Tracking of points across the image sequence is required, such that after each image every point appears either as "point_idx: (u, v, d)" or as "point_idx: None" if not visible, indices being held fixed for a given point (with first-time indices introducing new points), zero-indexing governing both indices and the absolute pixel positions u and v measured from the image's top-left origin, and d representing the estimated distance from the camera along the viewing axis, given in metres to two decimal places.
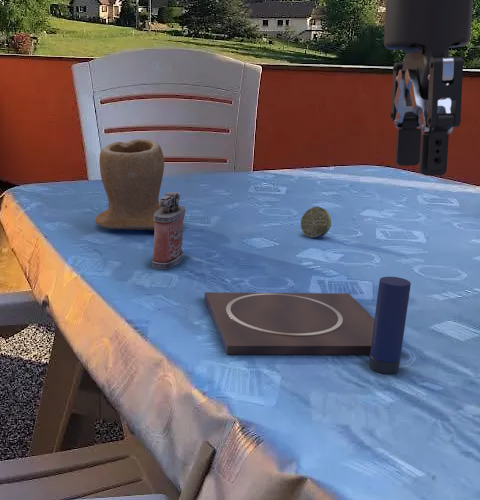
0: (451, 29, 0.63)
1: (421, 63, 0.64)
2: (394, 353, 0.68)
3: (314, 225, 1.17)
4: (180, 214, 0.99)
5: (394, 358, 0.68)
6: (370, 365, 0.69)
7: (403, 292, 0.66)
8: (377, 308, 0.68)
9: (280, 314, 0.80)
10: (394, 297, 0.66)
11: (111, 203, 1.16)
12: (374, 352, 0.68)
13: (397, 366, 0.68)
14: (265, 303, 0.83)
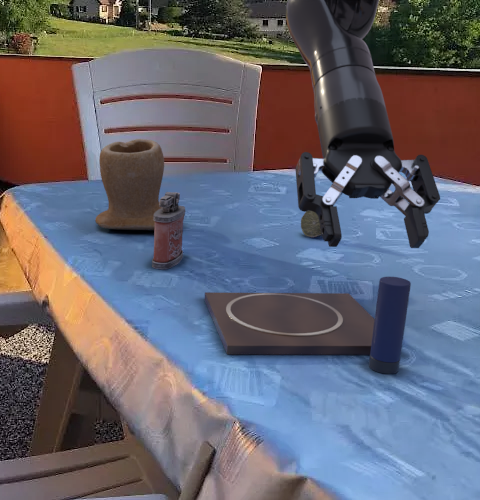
0: (327, 135, 0.76)
1: None
2: (394, 353, 0.68)
3: (314, 225, 1.17)
4: (180, 214, 0.99)
5: (394, 358, 0.68)
6: (370, 365, 0.69)
7: (403, 292, 0.66)
8: (377, 308, 0.68)
9: (280, 314, 0.80)
10: (394, 297, 0.66)
11: (111, 203, 1.16)
12: (374, 352, 0.68)
13: (397, 366, 0.68)
14: (265, 303, 0.83)
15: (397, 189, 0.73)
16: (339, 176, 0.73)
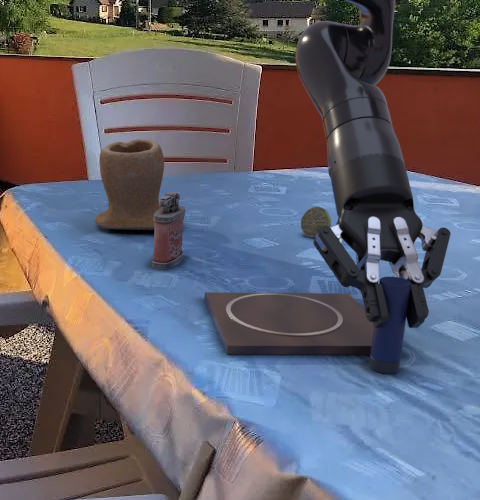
0: (342, 193, 0.72)
1: None
2: (394, 353, 0.68)
3: (314, 225, 1.17)
4: (180, 214, 0.99)
5: (394, 358, 0.68)
6: (370, 365, 0.69)
7: (403, 292, 0.66)
8: None
9: (280, 314, 0.80)
10: (395, 297, 0.66)
11: (111, 203, 1.16)
12: (375, 352, 0.68)
13: (397, 366, 0.68)
14: (265, 303, 0.83)
15: (402, 257, 0.68)
16: (369, 247, 0.68)
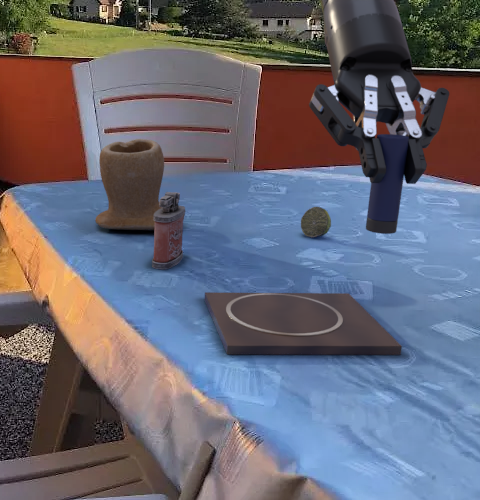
0: (338, 55, 0.70)
1: None
2: (391, 211, 0.66)
3: (314, 225, 1.17)
4: (180, 214, 0.99)
5: (391, 217, 0.66)
6: (367, 227, 0.68)
7: (401, 145, 0.64)
8: None
9: (280, 314, 0.80)
10: (392, 150, 0.64)
11: (111, 203, 1.16)
12: (371, 212, 0.67)
13: (395, 226, 0.67)
14: (265, 303, 0.83)
15: (400, 114, 0.67)
16: (366, 103, 0.66)
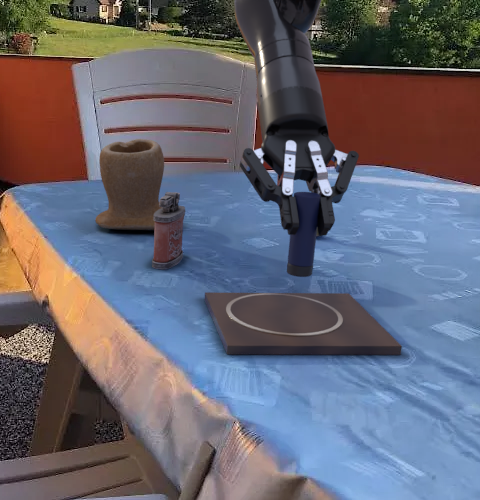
0: (265, 121, 0.81)
1: None
2: (306, 258, 0.77)
3: None
4: (180, 214, 0.99)
5: (307, 263, 0.77)
6: (287, 270, 0.79)
7: (313, 203, 0.76)
8: None
9: (280, 314, 0.80)
10: (305, 207, 0.76)
11: (111, 203, 1.16)
12: (290, 258, 0.78)
13: (310, 270, 0.78)
14: (265, 303, 0.83)
15: (315, 174, 0.78)
16: (285, 165, 0.78)
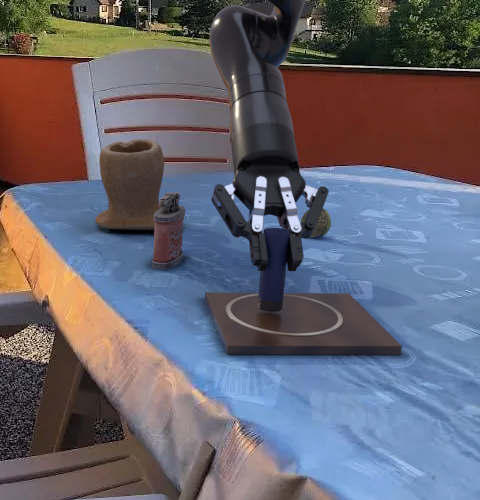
0: (237, 156, 0.82)
1: None
2: (276, 293, 0.78)
3: None
4: (180, 214, 0.99)
5: (276, 298, 0.78)
6: (258, 305, 0.80)
7: (282, 240, 0.77)
8: None
9: (280, 314, 0.80)
10: (274, 244, 0.77)
11: (111, 203, 1.16)
12: (260, 293, 0.79)
13: (280, 305, 0.79)
14: None
15: (284, 210, 0.79)
16: (255, 202, 0.79)
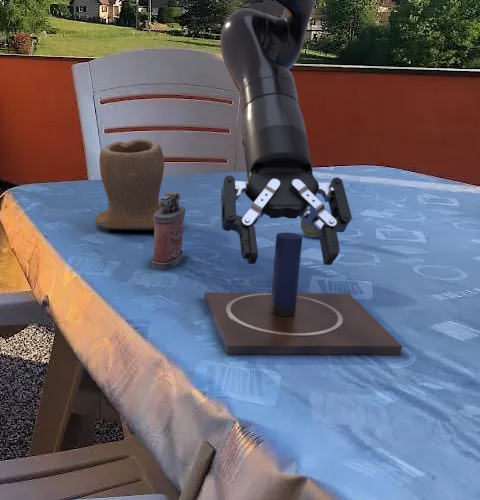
0: (250, 159, 0.82)
1: None
2: (289, 298, 0.78)
3: None
4: (180, 214, 0.99)
5: (289, 302, 0.79)
6: (271, 309, 0.80)
7: (295, 245, 0.77)
8: (275, 259, 0.79)
9: None
10: (287, 249, 0.77)
11: (111, 203, 1.16)
12: (273, 298, 0.79)
13: (293, 310, 0.79)
14: (265, 303, 0.83)
15: (312, 210, 0.79)
16: (258, 198, 0.79)
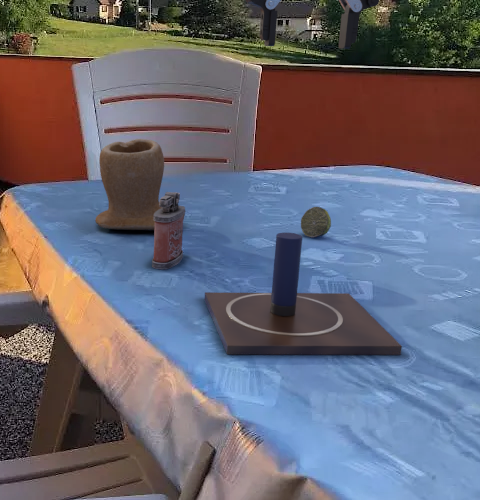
0: None
1: None
2: (289, 298, 0.78)
3: (314, 225, 1.17)
4: (180, 214, 0.99)
5: (289, 302, 0.79)
6: (271, 309, 0.80)
7: (295, 245, 0.77)
8: (275, 259, 0.79)
9: None
10: (287, 249, 0.77)
11: (111, 203, 1.16)
12: (273, 298, 0.79)
13: (293, 310, 0.79)
14: (265, 303, 0.83)
15: None
16: None
